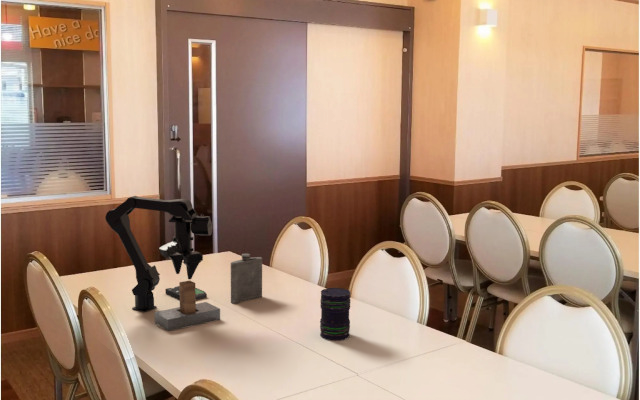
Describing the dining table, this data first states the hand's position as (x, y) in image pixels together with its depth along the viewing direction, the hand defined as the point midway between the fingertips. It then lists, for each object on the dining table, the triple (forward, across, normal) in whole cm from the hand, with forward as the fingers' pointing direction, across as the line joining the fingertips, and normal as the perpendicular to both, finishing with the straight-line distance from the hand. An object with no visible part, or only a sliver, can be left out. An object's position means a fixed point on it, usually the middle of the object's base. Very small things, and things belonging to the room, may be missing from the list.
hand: (183, 276), depth 245 cm
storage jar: (+13, +53, +28) cm, 61 cm away
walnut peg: (+13, +11, -4) cm, 18 cm away
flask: (+13, +1, +26) cm, 29 cm away
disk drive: (+14, -17, +10) cm, 24 cm away
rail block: (+13, +11, -4) cm, 18 cm away
